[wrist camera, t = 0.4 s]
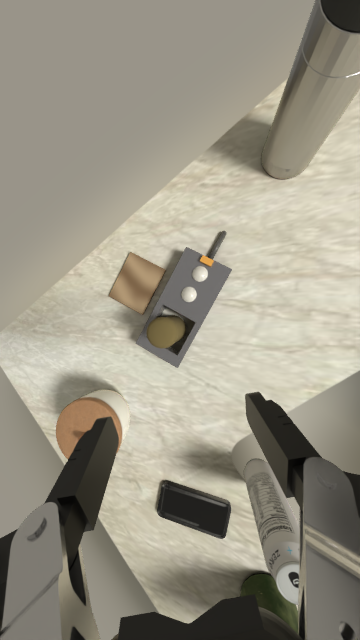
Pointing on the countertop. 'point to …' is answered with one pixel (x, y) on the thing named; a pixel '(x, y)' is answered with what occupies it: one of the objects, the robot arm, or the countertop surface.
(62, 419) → the lidded bowl
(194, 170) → the countertop surface
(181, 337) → the pepper shaker
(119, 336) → the countertop surface
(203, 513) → the phone
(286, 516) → the energy drink can
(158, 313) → the charging strip
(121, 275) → the cork pad
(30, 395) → the countertop surface
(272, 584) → the green bottle
